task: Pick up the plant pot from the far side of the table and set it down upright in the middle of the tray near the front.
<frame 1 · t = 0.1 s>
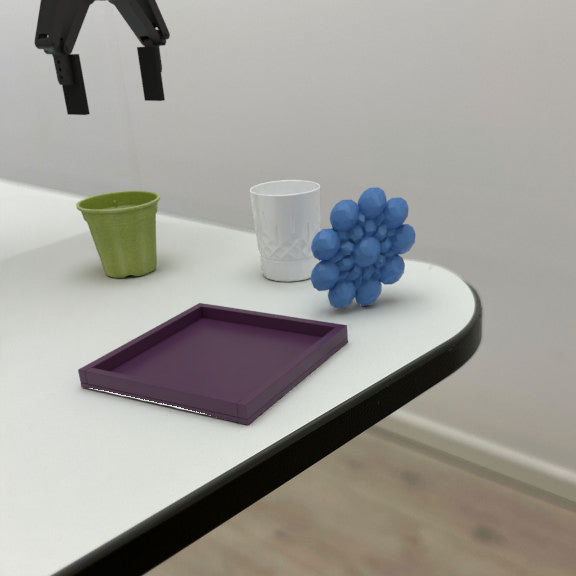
hand: (119, 107, 95), 18 cm above the table, tool pointing down, fingers open, 13 cm apart
white cup: (291, 274, 90), on the table
plant pot: (131, 272, 92), on the table
tray: (221, 363, 67), on the table
blue flower ornament: (361, 304, 80), on the table
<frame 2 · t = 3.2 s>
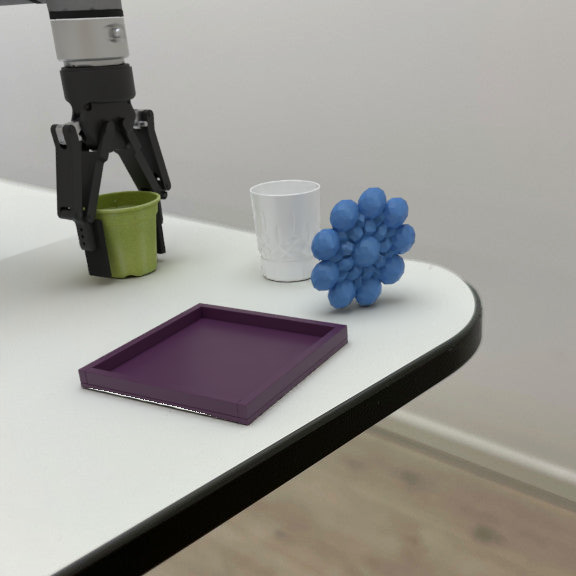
hand: (129, 263, 92), 1 cm above the table, tool pointing down, fingers closed on plant pot, 9 cm apart
plant pot: (131, 272, 92), on the table, touching gripper
everything else where it was.
when the fingers open (1 cm above the table, at t = 11.4 s): plant pot stays where it is, resting on tray.
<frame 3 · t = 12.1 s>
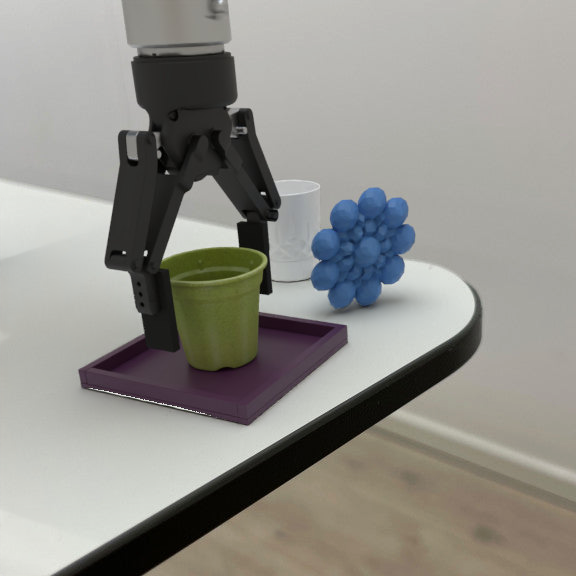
hand: (214, 318, 65), 4 cm above the table, tool pointing down, fingers open, 13 cm apart
plant pot: (222, 359, 67), resting on tray
everything else where it was.
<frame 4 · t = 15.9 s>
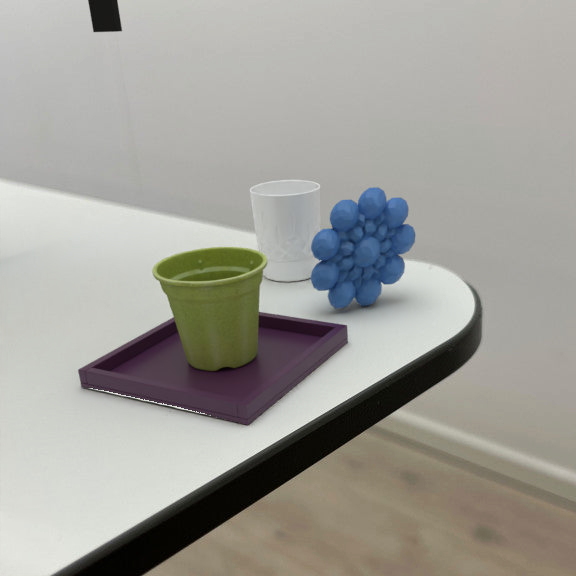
hand: (50, 36, 64), 27 cm above the table, tool pointing down, fingers open, 13 cm apart
nothing on the table moved.
at the end: plant pot inside the target area in the tray (0.2 cm from its centre), point 0.3 cm above the tray's base; plant pot tilted 0°; the gripper is holding nothing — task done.
